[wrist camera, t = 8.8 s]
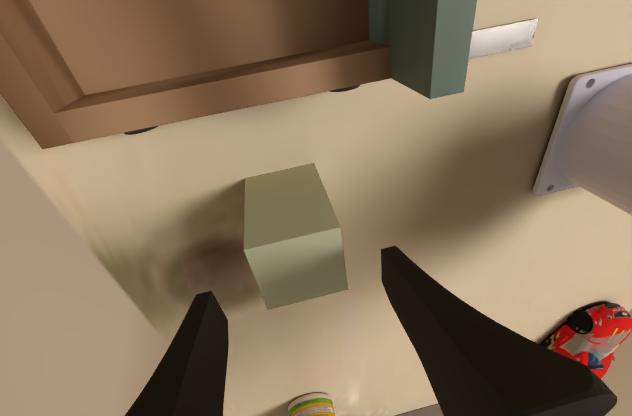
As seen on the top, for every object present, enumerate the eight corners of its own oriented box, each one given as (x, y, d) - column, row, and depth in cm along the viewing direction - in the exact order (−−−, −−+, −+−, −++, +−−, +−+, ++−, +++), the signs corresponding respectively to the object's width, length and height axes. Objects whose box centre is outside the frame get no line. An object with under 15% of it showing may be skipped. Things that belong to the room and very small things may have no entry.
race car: (588, 293, 32) (635, 334, 28) (624, 297, 35) (673, 336, 31) (497, 374, 40) (524, 414, 36) (531, 373, 43) (560, 411, 39)
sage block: (314, 162, 17) (340, 227, 12) (323, 217, 19) (348, 289, 14) (245, 178, 17) (243, 250, 12) (262, 231, 19) (267, 309, 14)
